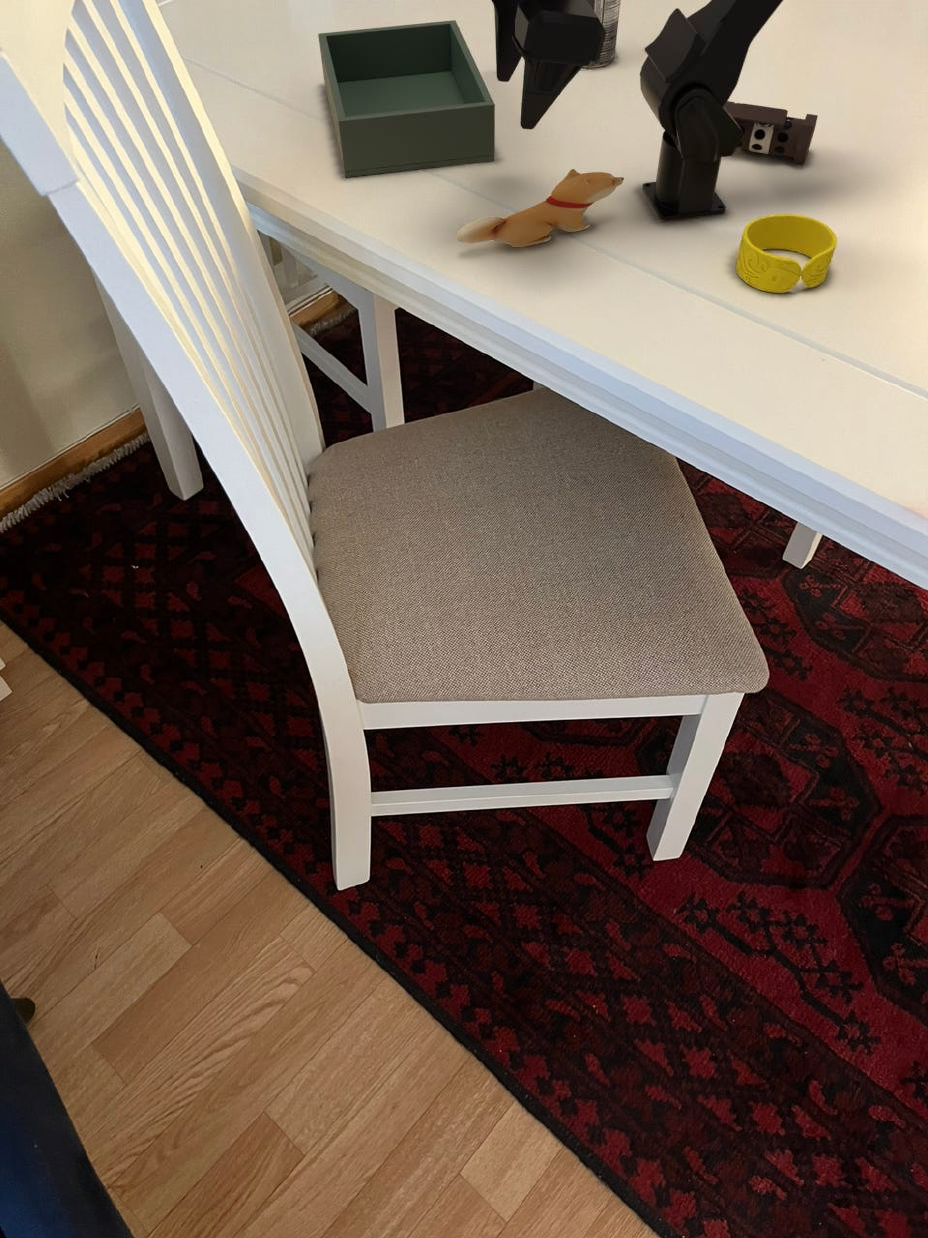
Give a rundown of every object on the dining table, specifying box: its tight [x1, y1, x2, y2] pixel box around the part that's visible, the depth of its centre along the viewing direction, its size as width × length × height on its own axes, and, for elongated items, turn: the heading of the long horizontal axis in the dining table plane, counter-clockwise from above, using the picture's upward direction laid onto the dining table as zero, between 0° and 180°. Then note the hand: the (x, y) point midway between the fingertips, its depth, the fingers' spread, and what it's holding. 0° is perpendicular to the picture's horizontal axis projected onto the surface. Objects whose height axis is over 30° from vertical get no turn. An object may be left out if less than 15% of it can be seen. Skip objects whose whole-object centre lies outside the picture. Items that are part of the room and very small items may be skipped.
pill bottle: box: [582, 0, 622, 68], centre depth 107 cm, size 6×6×11 cm
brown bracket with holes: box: [725, 100, 819, 165], centre depth 95 cm, size 4×11×5 cm
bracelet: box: [735, 213, 838, 294], centre depth 83 cm, size 7×8×3 cm
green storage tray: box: [317, 19, 496, 178], centre depth 101 cm, size 22×16×6 cm
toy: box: [456, 168, 625, 248], centre depth 86 cm, size 3×17×5 cm, turn 115°
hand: (514, 103), depth 82 cm, fingers open, 9 cm apart
